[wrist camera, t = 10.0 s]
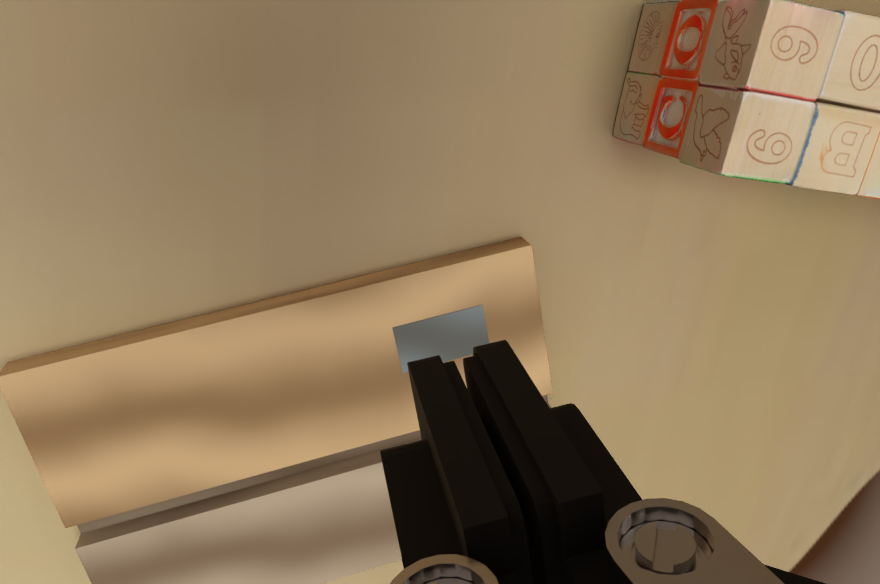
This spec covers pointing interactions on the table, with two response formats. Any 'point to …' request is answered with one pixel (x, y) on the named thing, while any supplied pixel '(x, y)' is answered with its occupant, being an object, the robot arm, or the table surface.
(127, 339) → the board
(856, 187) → the stack of blocks
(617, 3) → the table surface
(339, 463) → the floor row
